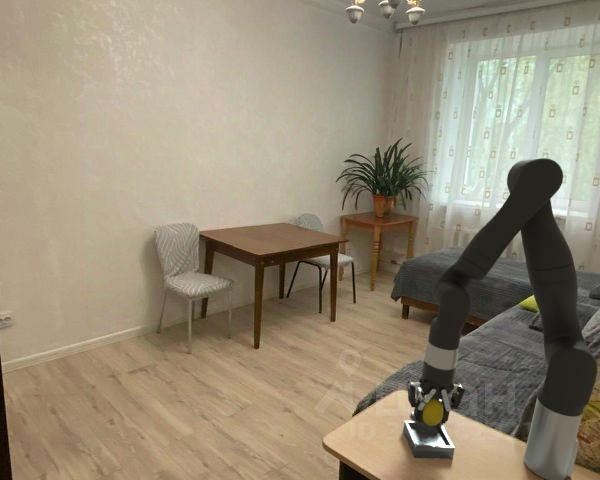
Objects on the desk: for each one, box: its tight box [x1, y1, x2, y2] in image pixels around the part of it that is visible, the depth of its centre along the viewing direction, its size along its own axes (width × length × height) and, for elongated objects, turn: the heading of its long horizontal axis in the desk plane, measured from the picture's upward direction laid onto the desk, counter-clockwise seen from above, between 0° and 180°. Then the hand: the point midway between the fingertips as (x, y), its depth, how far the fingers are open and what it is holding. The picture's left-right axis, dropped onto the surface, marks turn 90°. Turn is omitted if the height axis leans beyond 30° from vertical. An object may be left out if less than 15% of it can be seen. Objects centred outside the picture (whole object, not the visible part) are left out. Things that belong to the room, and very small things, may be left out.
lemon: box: [422, 399, 443, 426], centre depth 105 cm, size 6×6×8 cm
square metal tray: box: [402, 420, 456, 460], centre depth 107 cm, size 10×10×3 cm
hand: (430, 420), depth 106 cm, fingers closed on lemon, 5 cm apart
